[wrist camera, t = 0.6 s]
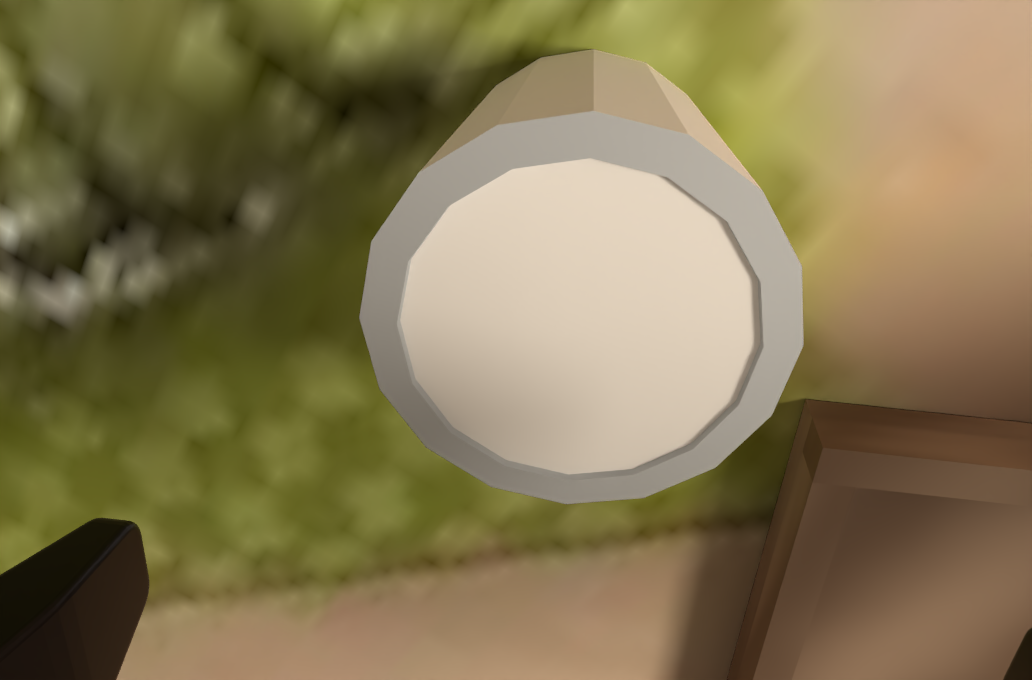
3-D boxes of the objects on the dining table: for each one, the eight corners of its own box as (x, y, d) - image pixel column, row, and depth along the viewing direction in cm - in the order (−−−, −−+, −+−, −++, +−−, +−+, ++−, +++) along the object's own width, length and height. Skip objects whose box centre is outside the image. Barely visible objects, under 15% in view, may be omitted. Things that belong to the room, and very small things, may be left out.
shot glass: (571, 368, 22) (561, 570, 16) (367, 168, 20) (267, 315, 14) (808, 192, 20) (901, 355, 14) (601, -60, 18) (601, 2, 12)
